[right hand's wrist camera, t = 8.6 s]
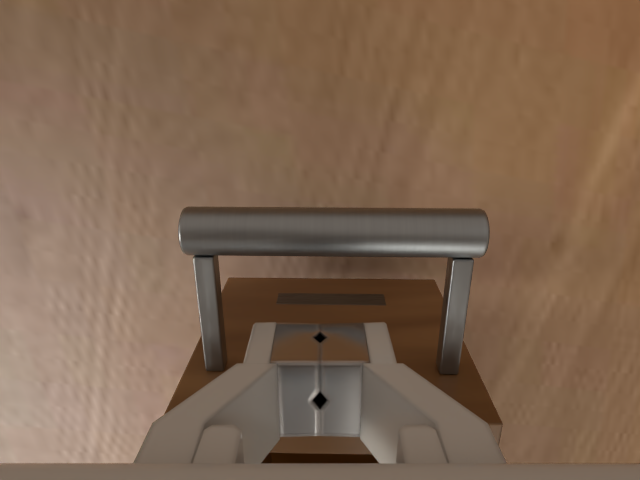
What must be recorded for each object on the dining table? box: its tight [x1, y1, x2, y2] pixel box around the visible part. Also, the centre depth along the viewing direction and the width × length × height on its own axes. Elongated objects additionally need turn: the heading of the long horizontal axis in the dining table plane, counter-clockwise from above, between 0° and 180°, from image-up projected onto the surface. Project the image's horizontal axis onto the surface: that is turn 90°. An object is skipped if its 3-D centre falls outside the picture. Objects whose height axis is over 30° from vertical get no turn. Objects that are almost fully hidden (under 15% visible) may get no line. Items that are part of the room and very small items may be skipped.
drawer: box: [164, 207, 503, 463], centre depth 18 cm, size 21×9×9 cm, turn 0°
